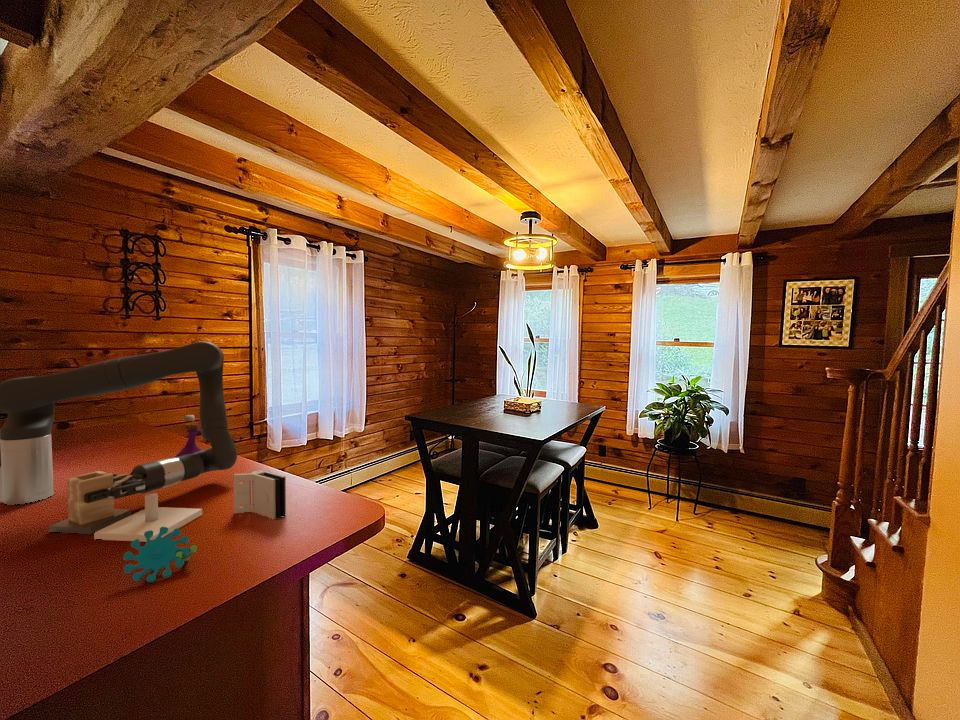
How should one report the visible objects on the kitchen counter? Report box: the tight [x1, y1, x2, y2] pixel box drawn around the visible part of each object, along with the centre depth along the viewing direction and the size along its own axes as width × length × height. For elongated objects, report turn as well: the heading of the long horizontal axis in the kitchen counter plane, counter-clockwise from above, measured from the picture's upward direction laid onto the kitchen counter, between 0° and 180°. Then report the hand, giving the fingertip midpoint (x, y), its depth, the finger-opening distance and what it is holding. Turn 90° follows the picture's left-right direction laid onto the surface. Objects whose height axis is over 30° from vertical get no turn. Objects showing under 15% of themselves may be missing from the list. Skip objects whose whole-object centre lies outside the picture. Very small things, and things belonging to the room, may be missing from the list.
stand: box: [48, 508, 132, 535], centre depth 97 cm, size 10×10×10 cm
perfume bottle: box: [174, 414, 203, 457], centre depth 139 cm, size 8×8×18 cm
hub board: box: [93, 492, 203, 543], centre depth 96 cm, size 14×14×8 cm
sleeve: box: [66, 470, 115, 525], centre depth 97 cm, size 6×6×10 cm
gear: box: [122, 527, 198, 584], centre depth 79 cm, size 11×6×10 cm
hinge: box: [233, 469, 287, 520], centre depth 104 cm, size 14×5×10 cm, turn 74°
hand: (77, 496), depth 94 cm, fingers closed on sleeve, 6 cm apart
